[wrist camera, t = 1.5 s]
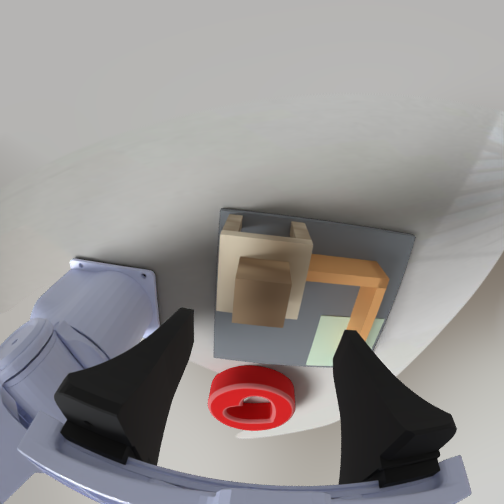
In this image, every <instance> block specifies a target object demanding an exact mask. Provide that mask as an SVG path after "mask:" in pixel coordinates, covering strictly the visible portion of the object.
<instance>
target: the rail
mask: <svg viewBox="0 0 504 504" xmlns="http://www.w3.org/2000/svg"><path fill="white" fill-rule="evenodd" d="M306 281H311V282H321V283H332V284H342V285H353V286H360V289H359V292H358V296H357V299H356V302H355V305H354V308H353V311H352V314H351V316H350V317H351V318H350V321H349V323H348V326H347V329H346V330H356V331H357V332H358V333H359V334H360V336H361V337H362V338H363V339H364V341H365V342H366V339H367V337H368V335H369V332H370V330H371V327H372V325H373V322H374V320H375V317H376V315H377V312H378V310H379V307H380V304H381V302H382V299H383V296H384V294H385V291H386V288H387V285H388V282H389V278H388V276H387V275H386V273H385V272H384V271H383V269H382V268H381V267H380V265H379V264H378V263H377V261H369V260H361V259H353V258H344V257H336V256H327V255H319V254H311V259H310V264H309V269H308V274H307V278H306Z"/></svg>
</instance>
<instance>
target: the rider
mask: <svg viewBox="0 0 504 504" xmlns="http://www.w3.org/2000/svg"><path fill="white" fill-rule="evenodd" d="M242 219H243V215H234V214H229V216H228V218H227V220H226V222H225V225H224V227H223V229H222V231H221V234H220V245H219V263H218V282H217V304H216V311H222V312H230V313H232V323H239V324H248V325H257V326H266V327H277V328H283V326H284V321H285V319H296V320H297V318H298V314H299V309H300V305H301V301H302V296H303V292H304V287H305V283H306V278H307V274H308V269H309V264H310V259H311V254H312V249H313V243H312V240H311V238H310V235H309V232H308V230H307V227H306V225H305V223H302V222H295V221H291V228H290V237H282V236H273V235H264V234H256V233H247V232H241V229H242Z"/></svg>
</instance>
